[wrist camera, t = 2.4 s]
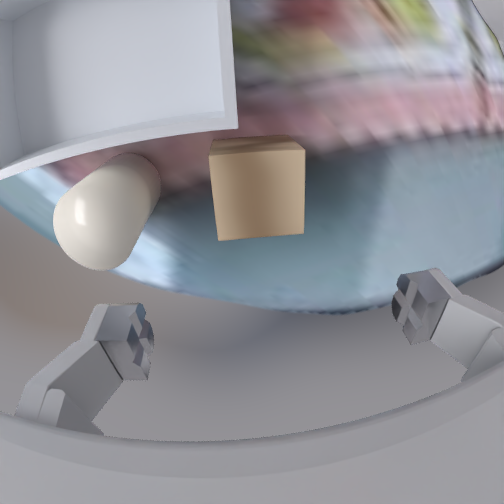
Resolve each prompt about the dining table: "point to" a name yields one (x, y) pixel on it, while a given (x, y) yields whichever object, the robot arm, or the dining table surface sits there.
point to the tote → (110, 75)
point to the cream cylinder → (107, 211)
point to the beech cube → (257, 186)
